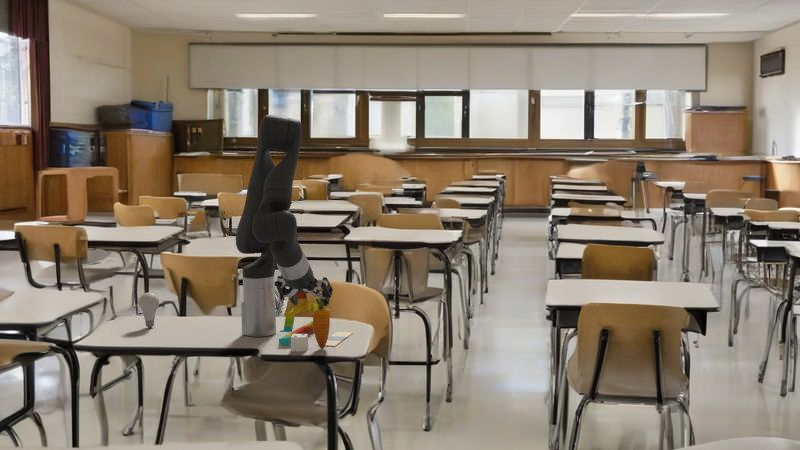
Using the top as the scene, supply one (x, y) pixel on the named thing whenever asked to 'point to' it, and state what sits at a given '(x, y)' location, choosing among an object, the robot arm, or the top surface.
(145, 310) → the lightbulb
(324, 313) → the carrot
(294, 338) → the die
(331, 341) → the flat strip
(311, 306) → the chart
